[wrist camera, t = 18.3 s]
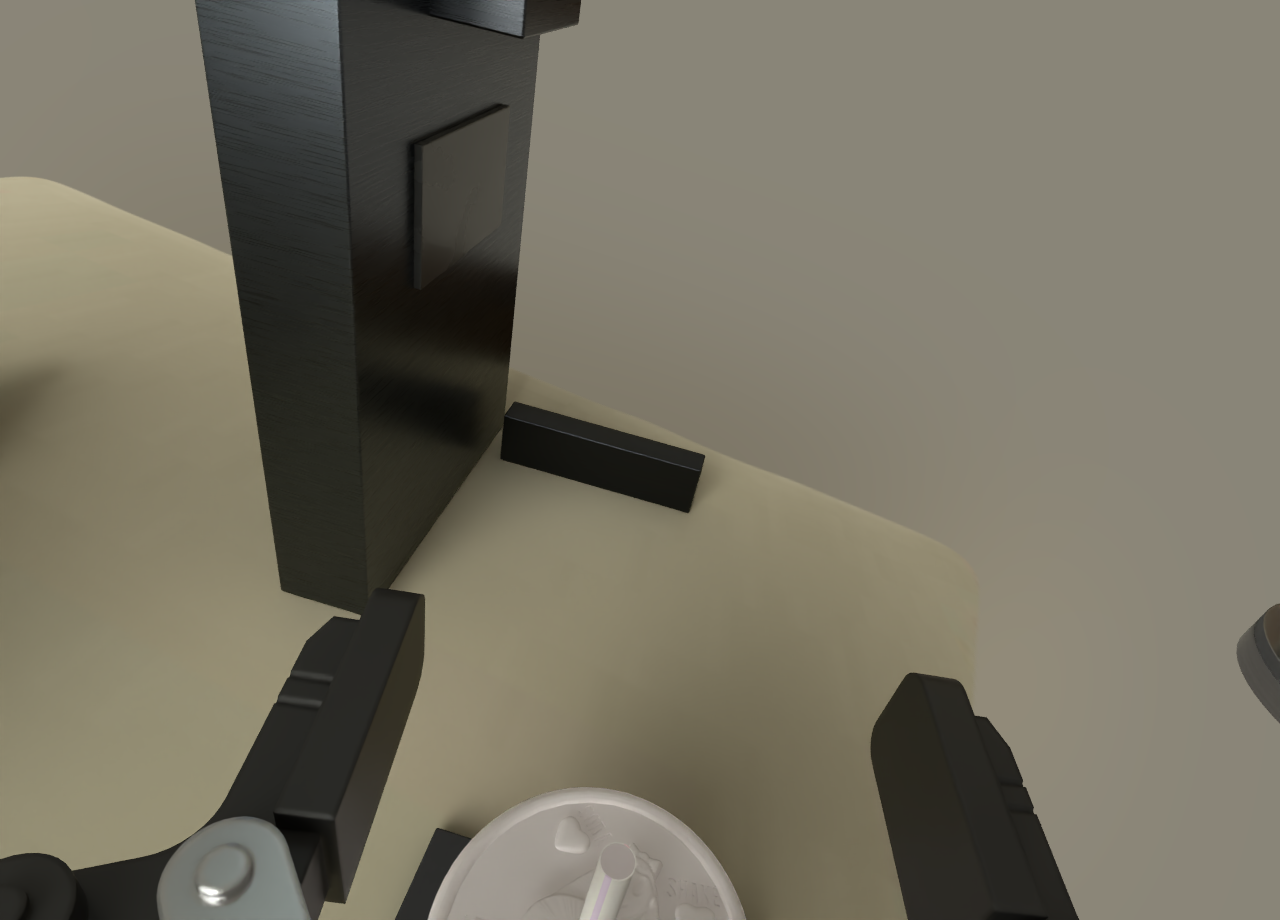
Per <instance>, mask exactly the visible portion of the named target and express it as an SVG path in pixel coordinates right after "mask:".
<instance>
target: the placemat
mask: <svg viewBox="0 0 1280 920" xmlns="http://www.w3.org/2000/svg"><path fill="white" fill-rule="evenodd" d="M471 840H472V839H471V838H468V837H464V836H461V835H458V834H455V833H452V832H449V831H446V830H443V829H440V828H437V829H436V830H435V832H434V835H433V837H432V839H431V841H430V843H429V846H428V848H427V850H426V852H425V854H424V857H423V859H422V861H421V863H420V865H419V868H418V870H417V872H416V874H415V876H414V879H413V881H412V883H411V885H410V887H409V890H408V892H407V894H406V896H405V899H404V901H403V903H402V905H401V907H400V910H399V912H398V914H397V916H396V918H395V920H428V917H429V913H430V910H431V908H432V905H433V902H434V899H435V897H436V894H437V892H438V890H439V888H440V886H441V884H442V882H443V880H444V878H445V876H446V874H447V873H448V871H449V869H450V868H451V866H452V864H453V863H454V861H455V860H456V859H457V857H458V856H459V854H460V853H461V851H462V850H463V849H464V848H465V847H466V845H467V844H468V843H469V842H470V841H471Z"/></svg>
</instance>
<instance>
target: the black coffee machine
mask: <svg viewBox="0 0 1280 920" xmlns="http://www.w3.org/2000/svg"><path fill="white" fill-rule="evenodd" d="M195 4H196V11H197V17H198V24H199V31H200V38H201V44H202V52H203V58H204V65H205V72H206V79H207V85H208V92H209V99H210V106H211V113H212V119H213V126H214V133H215V140H216V146H217V154H218V161H219V167H220V174H221V181H222V188H223V195H224V201H225V208H226V215H227V222H228V229H229V235H230V242H231V248H232V256H233V263H234V270H235V277H236V284H237V290H238V297H239V304H240V311H241V318H242V325H243V331H244V338H245V345H246V352H247V359H248V365H249V372H250V379H251V386H252V393H253V400H254V406H255V413H256V420H257V427H258V434H259V440H260V447H261V454H262V461H263V468H264V475H265V481H266V488H267V495H268V502H269V509H270V516H271V522H272V529H273V536H274V543H275V550H276V556H277V563H278V570H279V577H280V584H281V590H282V591H285V592H288V593H291V594H295V595H298V596H301V597H304V598H308V599H311V600H314V601H318V602H321V603H324V604H327V605H331V606H334V607H337V608H341V609H344V610H347V611H350V612H354V613H357V614H360V615H362V613H363V611H364V609H365V607H366V604H367V602H368V600H369V598H370V596H371V594H372V592H373V591H374V590H375V589H376V588H385V589H388V588H389V586H390V585H391V584H392V582H393V581H394V579H395V578H396V576H397V575H398V574H399V572H400V571H401V569H402V568H403V567H404V565H405V564H406V562H407V561H408V559H409V558H410V557H411V555H412V554H413V552H414V551H415V549H416V548H417V547H418V545H419V544H420V542H421V541H422V540H423V538H424V537H425V535H426V534H427V532H428V531H429V530H430V528H431V527H432V525H433V524H434V522H435V521H436V520H437V518H438V517H439V515H440V514H441V512H442V511H443V510H444V508H445V507H446V505H447V504H448V503H449V501H450V500H451V498H452V497H453V495H454V494H455V493H456V491H457V490H458V488H459V487H460V485H461V484H462V483H463V481H464V480H465V478H466V477H467V476H468V474H469V473H470V471H471V470H472V468H473V467H474V466H475V464H476V463H477V461H478V460H479V458H480V457H481V456H482V454H483V453H484V451H485V450H486V448H487V447H488V446H489V444H490V443H491V441H492V440H493V439H494V437H495V436H496V434H497V433H498V431H499V430H500V429H501V427H502V426H503V435H502V446H501V457H500V458H501V459H502V460H506V461H509V462H513V463H516V464H520V465H523V466H526V467H530V468H533V469H537V470H540V471H544V472H547V473H551V474H554V475H558V476H561V477H565V478H568V479H572V480H575V481H579V482H582V483H586V484H589V485H593V486H596V487H600V488H603V489H607V490H610V491H614V492H617V493H621V494H624V495H628V496H631V497H634V498H638V499H641V500H645V501H648V502H652V503H655V504H659V505H662V506H666V507H669V508H673V509H676V510H680V511H683V512H687V513H689V511H690V508H691V504H692V501H693V498H694V494H695V491H696V488H697V484H698V481H699V478H700V474H701V471H702V467H703V463H704V459H705V455H703V454H699V453H696V452H692V451H689V450H685V449H682V448H678V447H675V446H671V445H667V444H664V443H660V442H657V441H653V440H650V439H646V438H643V437H639V436H635V435H632V434H628V433H625V432H621V431H618V430H614V429H611V428H607V427H603V426H600V425H596V424H593V423H589V422H586V421H582V420H579V419H575V418H571V417H568V416H564V415H561V414H557V413H554V412H550V411H547V410H543V409H539V408H536V407H532V406H529V405H525V404H522V403H518V402H514V403H513V404H512V406H511V407H510V408H509V410H508V411H507V413H506V414H505V404H506V394H507V383H508V372H509V361H510V351H511V350H510V348H511V339H512V329H513V319H514V307H515V297H516V286H517V275H518V265H519V253H520V243H521V232H522V222H523V211H524V200H525V189H526V179H527V168H528V158H529V147H530V136H531V126H532V115H533V103H534V93H535V82H536V72H537V60H538V51H539V40H540V39H539V38H540V34H543V33H547V32H551V31H555V30H559V29H563V28H567V27H570V26H574V25H577V24H578V22H579V13H580V5H581V0H195ZM504 415H505V416H504ZM503 424H504V425H503Z"/></svg>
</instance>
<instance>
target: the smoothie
mask: <svg viewBox="0 0 1280 920" xmlns="http://www.w3.org/2000/svg"><path fill="white" fill-rule="evenodd" d="M428 920H747V919H746V916H745V913H744V910H743V907H742V905H741V902H740V900H739V897H738V895H737V892H736V890H735V888H734V886H733V884H732V882H731V880H730V878H729V877H728V875H727V873H726V872H725V870H724V868H723V867H722V865H721V864H720V862H719V861H718V859H717V858H716V857H715V855H714V854H713V852H712V851H711V850H710V849H709V848H708V847H707V845H706V844H705V843H704V842H703V841H702V840H701V839H700V838H699V837H698V836H697V835H696V834H695V833H694V832H693V831H692V830H691V829H690V828H689V827H688V826H687V825H685V824H684V823H683V822H682V821H681V820H679V819H678V818H677V817H675V816H674V815H672V814H671V813H669V812H668V811H666V810H665V809H663V808H661V807H659V806H658V805H656V804H654V803H652V802H650V801H647V800H645V799H643V798H640V797H638V796H635V795H632V794H629V793H625V792H621V791H618V790H612V789H606V788H596V787H575V788H566V789H560V790H555V791H551V792H547V793H544V794H540V795H537V796H534V797H532V798H530V799H527V800H525V801H523V802H520V803H519V804H517V805H515V806H513V807H511V808H509V809H508V810H506V811H505V812H503V813H502V814H500V815H499V816H497V817H496V818H495V819H493V820H492V821H491V822H490V823H489V824H487V825H486V826H485V827H484V828H483V829H482V830H481V831H480V832H479V833H478V834H476V835H475V836H474V837H473V838H472V840H471V841H470V842H469V843H468V844H467V845H466V847H465V848H464V849H463V850H462V851H461V853H460V854H459V856H458V857H457V859H456V860H455V861H454V863H453V864H452V866H451V868H450V869H449V871H448V873H447V874H446V876H445V878H444V880H443V882H442V884H441V886H440V888H439V890H438V892H437V894H436V897H435V899H434V902H433V905H432V908H431V910H430V913H429V917H428Z"/></svg>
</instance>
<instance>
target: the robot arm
mask: <svg viewBox="0 0 1280 920" xmlns="http://www.w3.org/2000/svg"><path fill="white" fill-rule="evenodd" d="M424 637H425V597H424V595H423V594H417V593H411V592H404V591H398V590H391V589H385V588H376V589H375V590H374V591H373V592H372V594H371V596H370V598H369V600H368V602H367V604H366V607H365V609H364V611H363V613H362V615H361V618H360V620H355V619H349V618H342V617H336V616H334V617H333V618H331V619H330V620H329V621H328V622H327V623H326V624H325V625H324V626H322V627H321V628H320V629H319V630H318V631H317V632H316V633H315V634H314V635H312V636H311V637H310V638H309V639H308V640H307V641H306V643H305V645H304V647H303V649H302V651H301V653H300V655H299V657H298V658H297V660H296V662H295V664H294V666H293V668H292V670H291V674H290V677H289V678H287V680H286V682H285V684H284V686H283V688H282V690H281V692H280V694H279V695H278V700H277V702H276V703H274V705H273V707H272V709H271V711H270V713H269V715H268V717H267V719H266V721H265V723H264V725H263V727H262V729H261V731H260V733H259V734H258V736H257V738H256V740H255V742H254V744H253V746H252V748H251V750H250V752H249V754H248V756H247V758H246V760H245V762H244V764H243V766H242V768H241V770H240V771H239V773H238V775H237V777H236V779H235V781H234V783H233V785H232V787H231V789H230V791H229V793H228V795H227V797H226V799H225V800H224V802H223V803H222V805H221V807H220V808H219V809H218V811H217V812H216V813H215V815H214V816H213V817H212V818H211V819H210V820H209V821H208V822H207V823H206V824H205V825H204V826H203V827H202V828H201V829H199V830H198V831H197V832H196V833H194V834H193V835H192V836H190V837H189V838H187V839H186V840H184V841H182V842H181V843H179V844H177V845H175V846H173V847H171V848H169V849H167V850H164V851H161V852H159V853H156V854H152V855H149V856H145V857H140V858H135V859H130V860H125V861H120V862H115V863H110V864H105V865H99V866H94V867H89V868H84V869H79V870H74V871H72V870H71V869H70V868H69V867H68V866H67V864H66V863H64V862H63V861H62V860H60V859H59V858H56V857H54V856H51V855H48V854H41V853H25V854H19V855H13V856H10V857H7V858H3V859H0V920H318V918H319V915H320V912H321V909H322V907H323V904H324V901H327V902H335V903H343V904H345V903H346V900H347V897H348V894H349V891H350V888H351V885H352V882H353V879H354V876H355V873H356V870H357V867H358V864H359V861H360V858H361V855H362V852H363V849H364V846H365V843H366V840H367V838H368V835H369V832H370V829H371V826H372V823H373V820H374V817H375V814H376V811H377V808H378V805H379V802H380V799H381V796H382V793H383V790H384V787H385V784H386V781H387V778H388V775H389V772H390V769H391V766H392V763H393V760H394V757H395V755H396V752H397V749H398V746H399V743H400V740H401V737H402V734H403V731H404V728H405V725H406V722H407V719H408V716H409V713H410V710H411V707H412V704H413V701H414V698H415V695H416V692H417V689H418V685H419V681H420V677H421V673H422V667H423V661H424ZM871 760H872V765H873V769H874V773H875V778H876V782H877V787H878V791H879V795H880V800H881V804H882V808H883V813H884V817H885V821H886V826H887V830H888V835H889V839H890V843H891V848H892V852H893V856H894V861H895V865H896V869H897V874H898V878H899V883H900V887H901V891H902V896H903V900H904V904H905V909H906V913H907V917H908V920H1079V918H1078V916H1077V914H1076V912H1075V909H1074V907H1073V904H1072V902H1071V900H1070V897H1069V894H1068V892H1067V889H1066V887H1065V884H1064V882H1063V879H1062V877H1061V874H1060V872H1059V869H1058V867H1057V864H1056V862H1055V859H1054V857H1053V854H1052V852H1051V849H1050V847H1049V844H1048V842H1047V840H1046V837H1045V834H1044V832H1043V829H1042V827H1041V824H1040V822H1039V819H1038V817H1037V815H1036V814H1034V813H1033V808H1034V807H1033V804H1032V802H1031V799H1030V797H1029V794H1028V792H1027V789H1026V787H1023V785H1022V782H1023V779H1022V777H1021V774H1020V772H1019V769H1018V767H1017V764H1016V762H1015V759H1014V757H1013V754H1012V752H1011V749H1010V747H1009V746H1008V745H1007V743H1006V742H1005V741H1004V739H1003V738H1002V737H1001V735H1000V734H999V733H998V732H997V730H996V729H995V728H994V726H993V725H992V724H991V723H990V721H989V720H988V719H987V718H986V717H980V716H974V713H973V710H972V707H971V705H970V702H969V699H968V697H967V694H966V691H965V689H964V687H963V686H962V684H961V683H960V682H959V681H957V680H956V679H951V678H945V677H938V676H932V675H925V674H919V673H909V674H908V675H906V676H905V678H904V679H903V681H902V682H901V684H900V685H899V687H898V688H897V690H896V692H895V693H894V695H893V696H892V698H891V699H890V701H889V702H888V704H887V706H886V707H885V709H884V710H883V712H882V713H881V715H880V716H879V718H878V720H877V721H876V723H875V725H874V728H873V731H872V736H871Z"/></svg>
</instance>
